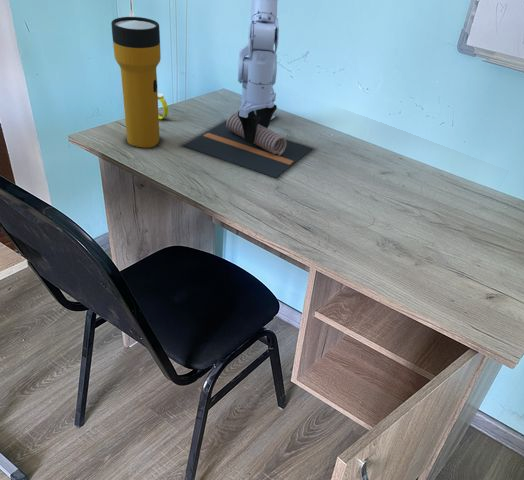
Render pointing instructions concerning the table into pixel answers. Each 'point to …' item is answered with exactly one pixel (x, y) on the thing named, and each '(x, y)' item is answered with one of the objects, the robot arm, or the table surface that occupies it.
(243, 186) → the table surface
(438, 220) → the table surface
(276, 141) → the coil
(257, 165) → the mat
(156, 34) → the flashlight
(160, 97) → the watch
